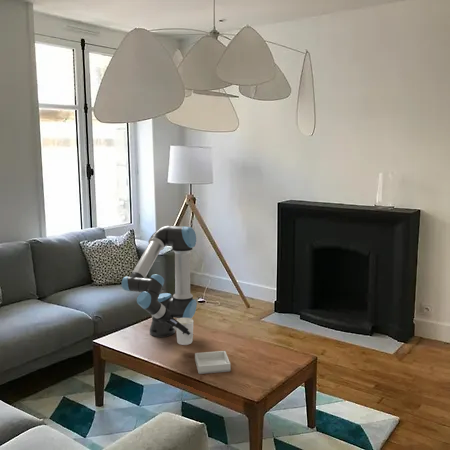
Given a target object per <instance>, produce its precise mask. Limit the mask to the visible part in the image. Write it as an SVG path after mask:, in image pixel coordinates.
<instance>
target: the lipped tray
mask: <svg viewBox="0 0 450 450" xmlns="http://www.w3.org/2000/svg"><path fill="white" fill-rule="evenodd" d="M226 351H227V350H220V351H219V350H217V351H205V352H204V351H203V352H195V353H194V361H195V364H196V365H195V366H196V369H197V372H198V373H197V374H199V375H203V374H205V375H206V374H215V373H229V372H232V371H231V366H232V365H231V364H232V363H231V361H230V360H229V357H228V354H227V352H226Z"/></svg>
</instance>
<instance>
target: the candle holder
mask: <svg viewBox="0 0 450 450" xmlns="http://www.w3.org/2000/svg"><path fill="white" fill-rule="evenodd" d="M176 320H177V321H178V322H179V323H180V324H182V325H183V326H184V327H186V328H187V329H188V330H189V331H190V332H191V333H192V334H194V322H195V321H194V319H193V318H176ZM175 333H176V343H177V344H179V345H183V346H188V345H190V344H192V343H193V338H194V335H193V336H192V338H191V339H190V338H189V337H188V336H186V335H185V334H182V333H183V332H182V331H181V330H179V329H178V328H176V330H175Z"/></svg>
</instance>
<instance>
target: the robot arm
mask: <svg viewBox="0 0 450 450" xmlns="http://www.w3.org/2000/svg"><path fill="white" fill-rule="evenodd" d="M196 243H197V233H196V231H195V229H194V228H193V227H191V226H185V225H165V226H162V227H160V228H159V229H157V230H156V231H154V232H153V234H152V235H150V238H149V239H148V244H147V246H146V248H145V250H144V251H143V253H142V255H141V257H140V259H139V260H138V262H137V263H136V266H135V267H134V269H133V270H132V271H131V274H130V275H128V276H124V277H123V278H122V280H121V287H122V290H124V291H127V292H134V293H135V292H136V293H139V294H138V296H137V298H136V304H137V305H138V306H140V307H141V309H143V310H144V311H146V312H147V313H148V314H149V315H150V316H151V318H152V321H151V324H150V327H149V335H151V336H153V337H157V338H158V337H159V338H165V337H166V338H167V337H170V336H172V335H174V334H175V333H176V328H178V329H179V330H181V331H182V332H183V333H182V334H185V335H186V336H188V337H189V338H190V339H191V338H192V336H193V337H194V333H193V334H192V333H191V332H190V331H189V330H188V329H187V328H186V327H184V326H183V325H182V324H180V323H179V322H178V321H177V319H179V318H191V319H193V317H194V316H195V313H196V310H197V305H198V304H197V303H198V302H197V300H196V299H194V297H193V296H194V295H193V294H192V293H191V252H193V248H194V247H195V246H196ZM168 246H169V247H171V250H172V252H173V253H174V279H175V280H174V281H175V283H174V285H175V286H174V288H175V289H174V290H175V291H174V293H173V295H172V294H171V293H170V292H169V293H168V292H163V293H161V292H162V289H163V288H164V284H165V278H164V277H163V276H162V275H160V274H157V273H156V274H155V273H154V274H152V275H151V276H150V277H149V278H147V276H148V273H149V272H150V270H151V268H152V267H153V265H154V262H155V261H156V259H157V258H158V256H159V254H160V252H161V251H162V250H164V249H165V247H168Z"/></svg>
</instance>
